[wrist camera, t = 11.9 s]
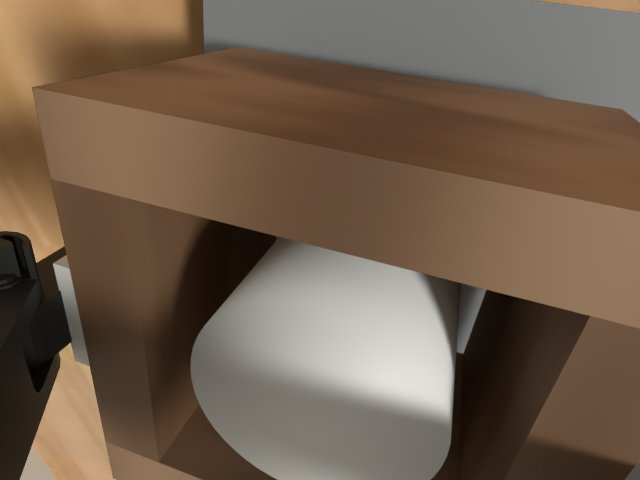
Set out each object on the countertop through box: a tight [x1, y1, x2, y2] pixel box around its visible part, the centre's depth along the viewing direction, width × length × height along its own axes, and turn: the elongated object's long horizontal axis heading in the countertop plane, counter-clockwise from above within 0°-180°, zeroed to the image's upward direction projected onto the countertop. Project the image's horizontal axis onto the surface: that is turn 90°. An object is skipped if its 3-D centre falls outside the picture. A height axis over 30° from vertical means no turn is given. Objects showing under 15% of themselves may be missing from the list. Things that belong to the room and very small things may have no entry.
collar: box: [32, 47, 640, 480], centre depth 11 cm, size 10×10×7 cm
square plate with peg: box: [190, 0, 640, 480], centre depth 12 cm, size 14×14×10 cm
